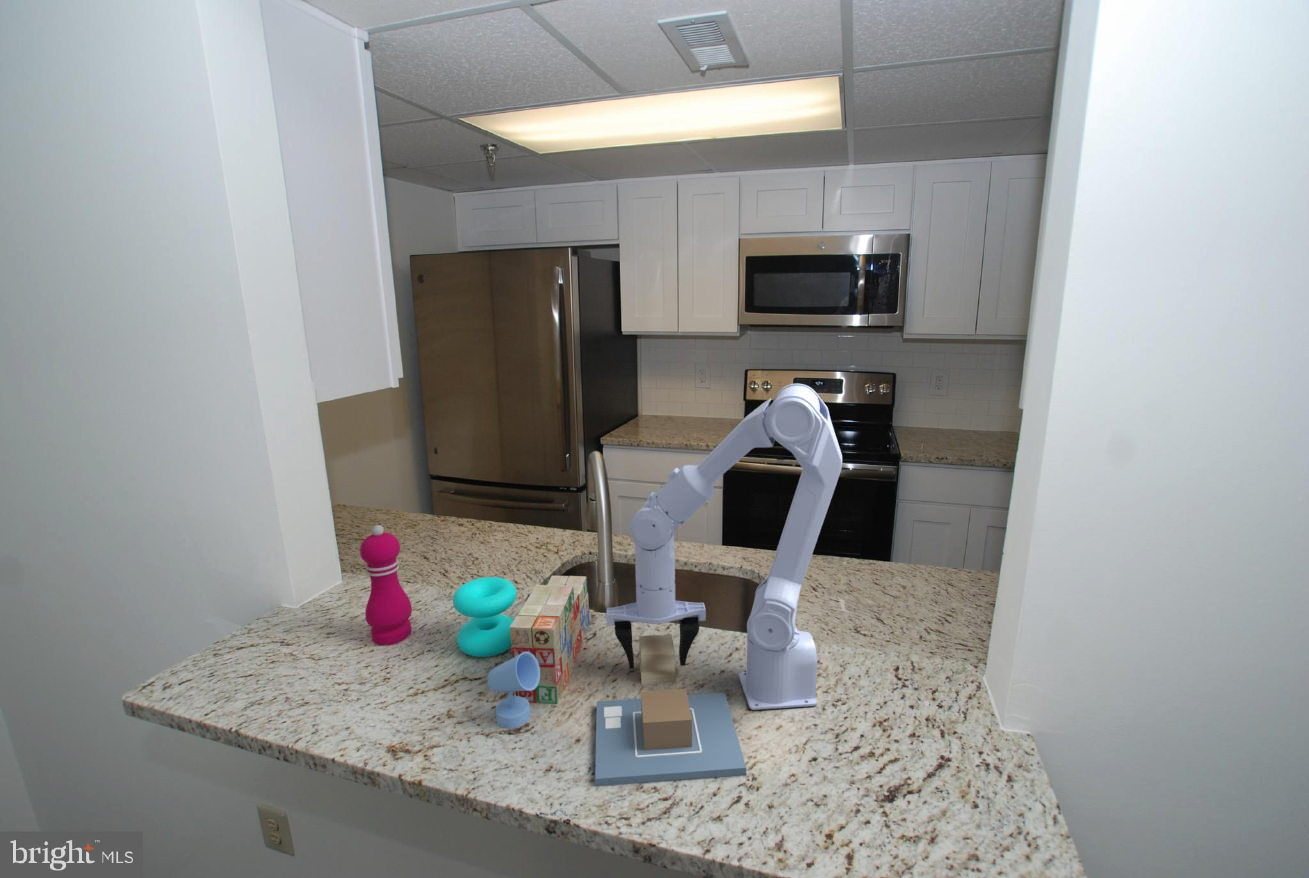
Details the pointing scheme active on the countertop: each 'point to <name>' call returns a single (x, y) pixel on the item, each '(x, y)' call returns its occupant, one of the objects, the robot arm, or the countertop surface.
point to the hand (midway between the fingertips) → (657, 663)
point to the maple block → (657, 659)
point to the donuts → (485, 616)
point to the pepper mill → (385, 589)
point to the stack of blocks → (552, 633)
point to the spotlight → (514, 688)
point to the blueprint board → (669, 766)
